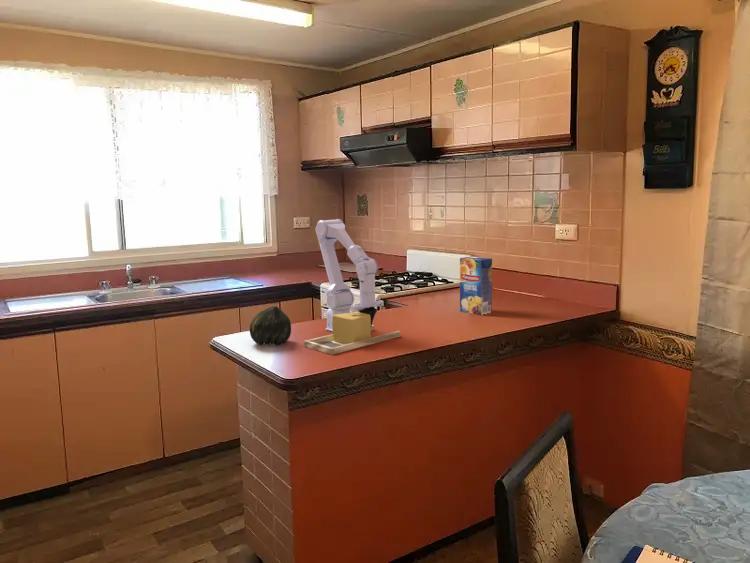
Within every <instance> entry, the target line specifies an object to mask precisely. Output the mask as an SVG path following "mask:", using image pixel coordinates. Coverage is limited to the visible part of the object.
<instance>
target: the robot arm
mask: <svg viewBox="0 0 750 563" xmlns="http://www.w3.org/2000/svg"><path fill="white" fill-rule="evenodd" d="M314 230H315V233H316V237H317V241H318V244H319V248H320V251H321V255H322V260H323V263H324V267H325V271H326V275H327V278H328V282H329V287H328V289H327V290H326V292H325V294H326V303H327V306H328V309H327V311H326V328H325V331H326V330H327V331H329V332H333V329H332V318H333V315H337V314H343V313H351V312H353V313H357V312H358V313H365V314H369V315H370V317H371V326H372V325H373V321H374V319H375V315H376V314H377V312H378V308H377V307H384V306H385V304H384V303H385V302H384V300H381V299H379V300H376V274H377V272H378V270H379V266H378V262H377V261H376V259H374V258H371V257H369V256H368V255H367V253H366V252H365V251H364V249H363V248H362V246H360V245H359V244H358V245H357V244H355V243H354V241H353V240H352V239H351V237H350V235H349V234H348V232H347V231H346V224H345V223H344V222H343V220H342V219H340V218H336V219H327V220H325V219H324V220H323V219H320V220H318V221H317V224H316V226H315V228H314ZM337 241H339V243H340V244H341V245H342V246H343V247H344V248H345V250H347V252H346V254H347V256H348V258H349V260H351V262H352V263H353V264H354V265H355V271H356V274H357V279H358V281H359V303H357V304H354V301H355V296H354V294H353V292H352V290H351V287H350V286H349V285H348V284H346V282H344V279H343V276H342V272H341V268H340V264H339V260H338V257H337V253H336V248H335V243H336V242H337Z"/></svg>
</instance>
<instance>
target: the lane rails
mask: <svg viewBox="0 0 750 563" xmlns="http://www.w3.org/2000/svg"><path fill="white" fill-rule="evenodd" d="M372 331H375V325H374V324H372V326H371V332H372ZM400 337H401V331H400V330H396V331H392V332H389V333H384V334H381V335H377V336H371V338H368V339H364V340H360V341H356V342H352V343H349V344H345V345H339V346H337V347H333V348H331V347H328V346H325V345H321V344H319V343H324V342H329V341H332V340H334V335H333V333H331V334H328V335H322V336H320V337H319V336H318V337H315V338H310V339H306V340H303V346H304V347H306V348H309V349H312V350H315V351H319V352H321V353H325V354H329V355H335V354H336V355H337V354H339V353H343V352H347V351H351V350H355V349H358V348H359V349H360V348H361V347H362V348H363V347H366V346H370V345H373V344H377V343H380V342H385V341H388V340H392V339H396V338H400Z"/></svg>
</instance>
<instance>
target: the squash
mask: <svg viewBox="0 0 750 563" xmlns="http://www.w3.org/2000/svg"><path fill="white" fill-rule="evenodd" d="M291 334H292V323H291V320H290V317H289V316H288V315H287V314H286V313H285V312H284V311H283V310H282V309H281V308H280V307H278V306H275V305H274V306H270V307H268V308H266V309H264V310H261V311H260V312H258V313H257V314H255V315H254V317H253V318H252V320H251V322H250V325H249V335H250V337H251V339H252V341H254V342H255V343H256V344H258V345H260V346H261V345H262V346H263V345H269V344H270V345H276V346H281V345H283V344H284V343H286V342H287V341H288V340H289V339H290V337H291Z"/></svg>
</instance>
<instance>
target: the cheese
mask: <svg viewBox="0 0 750 563" xmlns="http://www.w3.org/2000/svg"><path fill="white" fill-rule="evenodd" d="M332 329H333V331H332V334H333V335H334V341H335V342H339V343H344V344H349V343H352V342H356V341H360V340H364V339H368V338H372V331H371V317H370V315H369V314H365V313H360V312H350V313H343V314H337V315H333V318H332Z"/></svg>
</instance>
